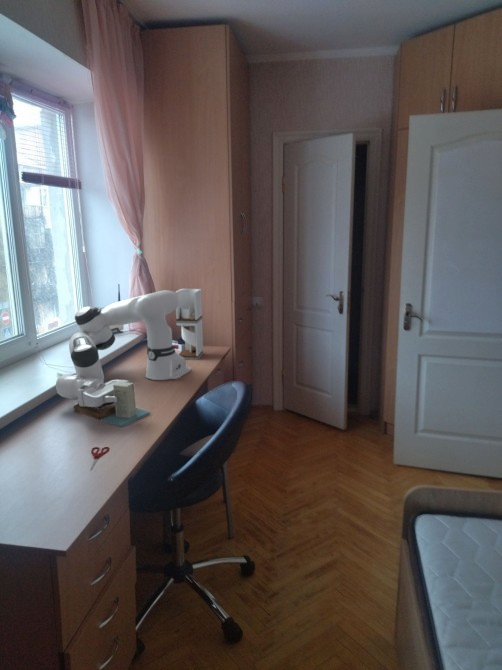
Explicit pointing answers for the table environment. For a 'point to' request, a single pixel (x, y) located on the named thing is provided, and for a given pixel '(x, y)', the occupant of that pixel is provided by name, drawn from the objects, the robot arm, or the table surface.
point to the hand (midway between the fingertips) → (125, 394)
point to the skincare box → (125, 399)
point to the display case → (190, 322)
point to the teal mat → (124, 421)
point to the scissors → (96, 455)
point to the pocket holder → (96, 410)
